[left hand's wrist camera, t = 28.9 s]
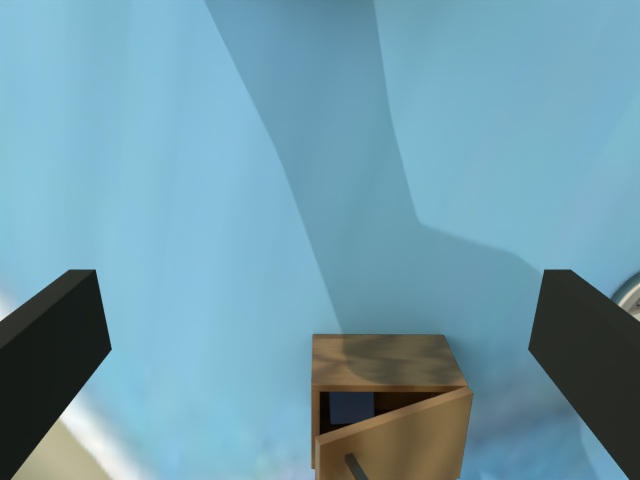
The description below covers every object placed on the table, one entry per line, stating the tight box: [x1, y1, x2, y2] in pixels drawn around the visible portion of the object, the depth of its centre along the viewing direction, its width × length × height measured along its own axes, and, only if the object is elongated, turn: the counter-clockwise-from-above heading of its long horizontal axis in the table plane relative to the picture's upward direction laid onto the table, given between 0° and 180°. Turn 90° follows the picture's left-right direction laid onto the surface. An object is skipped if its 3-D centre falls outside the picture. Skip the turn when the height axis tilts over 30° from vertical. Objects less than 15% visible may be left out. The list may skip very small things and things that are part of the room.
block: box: [329, 392, 374, 424], centre depth 48 cm, size 5×5×5 cm
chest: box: [311, 334, 468, 469], centre depth 47 cm, size 15×11×9 cm
